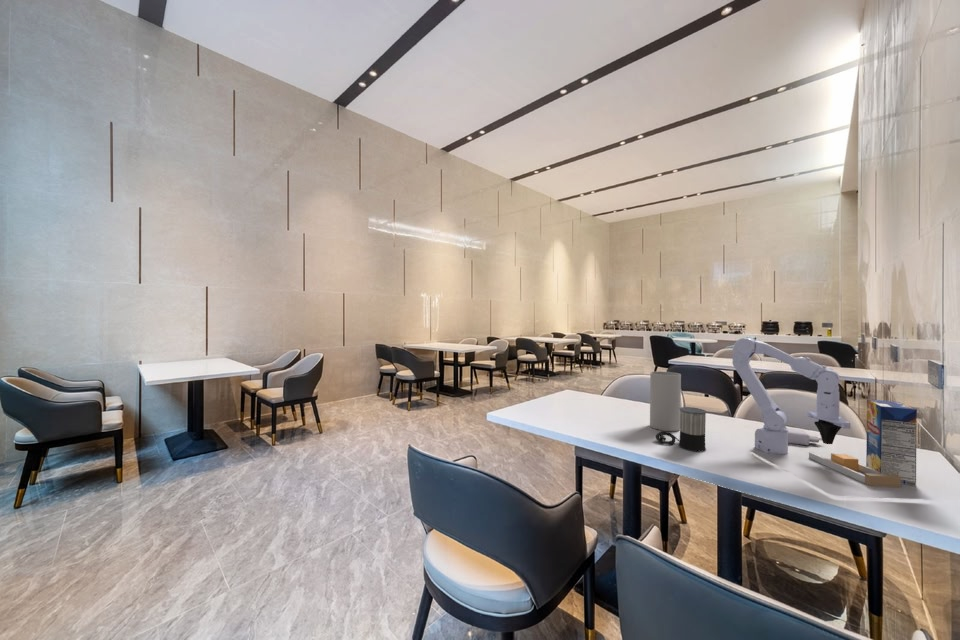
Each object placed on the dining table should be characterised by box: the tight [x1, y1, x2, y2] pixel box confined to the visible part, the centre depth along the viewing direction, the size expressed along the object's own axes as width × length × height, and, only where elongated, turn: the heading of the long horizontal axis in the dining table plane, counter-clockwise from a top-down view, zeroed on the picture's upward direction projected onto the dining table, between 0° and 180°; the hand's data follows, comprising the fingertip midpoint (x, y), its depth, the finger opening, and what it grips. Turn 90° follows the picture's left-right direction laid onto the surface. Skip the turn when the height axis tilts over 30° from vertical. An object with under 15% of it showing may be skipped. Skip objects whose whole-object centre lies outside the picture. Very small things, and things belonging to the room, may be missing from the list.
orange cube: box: [830, 453, 859, 472], centre depth 121 cm, size 4×4×4 cm
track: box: [808, 451, 901, 488], centre depth 119 cm, size 8×22×4 cm, turn 176°
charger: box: [786, 427, 822, 446], centre depth 150 cm, size 5×9×15 cm
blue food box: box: [865, 398, 918, 487], centre depth 115 cm, size 12×8×24 cm, turn 148°
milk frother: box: [655, 406, 707, 453], centre depth 145 cm, size 14×16×15 cm
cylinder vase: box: [649, 371, 682, 432], centre depth 169 cm, size 12×12×25 cm
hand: (827, 443), depth 127 cm, fingers closed
